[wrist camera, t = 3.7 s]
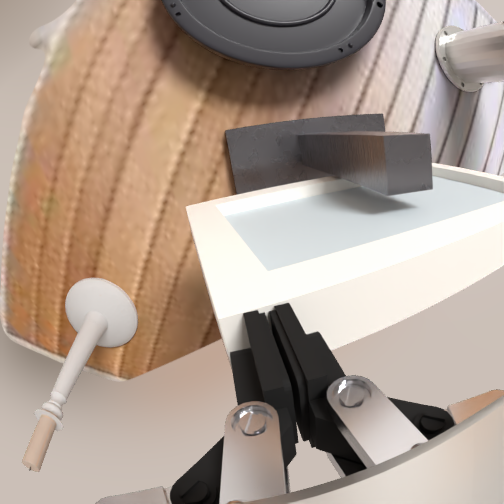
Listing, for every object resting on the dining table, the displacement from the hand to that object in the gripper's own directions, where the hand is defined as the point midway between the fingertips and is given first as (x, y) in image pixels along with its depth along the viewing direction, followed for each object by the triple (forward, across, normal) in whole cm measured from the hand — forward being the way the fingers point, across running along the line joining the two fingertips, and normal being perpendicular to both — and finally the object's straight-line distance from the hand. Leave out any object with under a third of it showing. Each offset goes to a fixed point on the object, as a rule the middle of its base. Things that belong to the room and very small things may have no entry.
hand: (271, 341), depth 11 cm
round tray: (+31, -12, -30) cm, 45 cm away
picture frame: (+21, -11, -1) cm, 24 cm away
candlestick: (+33, +23, +14) cm, 43 cm away
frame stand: (+31, -13, -4) cm, 34 cm away
